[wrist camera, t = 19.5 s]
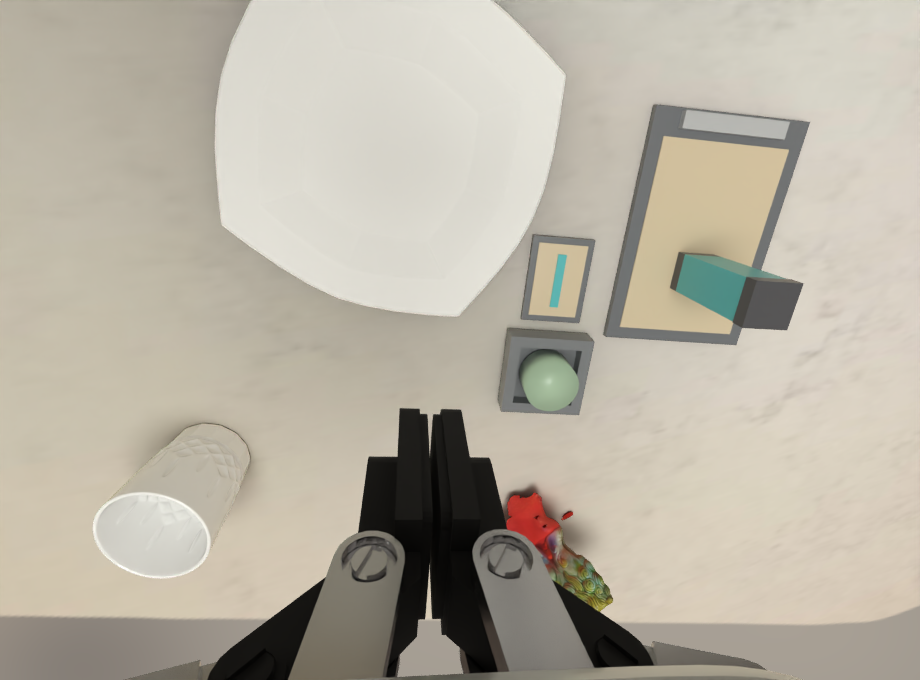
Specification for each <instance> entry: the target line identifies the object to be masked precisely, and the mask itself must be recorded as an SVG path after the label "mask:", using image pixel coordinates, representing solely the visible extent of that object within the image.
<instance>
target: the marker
mask: <svg viewBox="0 0 920 680" xmlns="http://www.w3.org/2000/svg"><path fill="white" fill-rule="evenodd" d="M802 286H803V283H800V282H797V281H794V280H790V279H785V278H782V277H779V276H776V275H774V274H771V273H768V272H765V271H762V270H759V269H756V268H753V267H750V266H747V265H744V264H741V263H738V262H735V261H732V260H729V259H726V258H723V257H720V256H717V255H714V254H701V253H687V252H678V256H677V260H676V264H675V269H674V273H673V277H672V281H671V285H670V288H671V289H673V290H675V291H676V292H678V293H680V294H682V295H684V296H686V297H688V298H689V299H691V300H693V301H695V302H697V303H699V304H701V305H703V306H704V307H706V308H708V309H710V310H712V311H714V312H716V313H718V314H719V315H721V316H723V317H725V318H727V319H729V320H731V321H732V323H734V324H736V325H738V326H740V327H741V328H755V329H774V330H787V329H788V326H789V323H790V320H791V317H792V315H793V312H794V309H795V306H796V303H797V301H798V298H799V295H800V292H801V289H802Z"/></svg>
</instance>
